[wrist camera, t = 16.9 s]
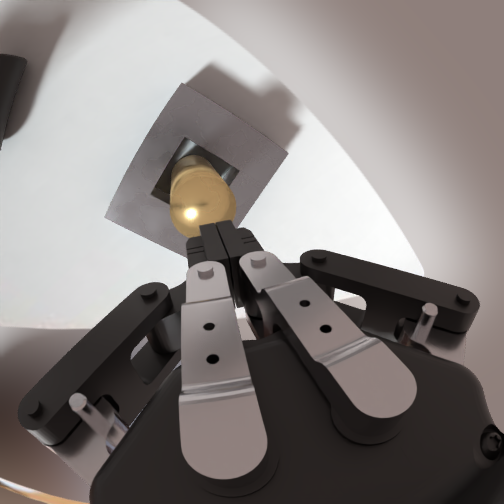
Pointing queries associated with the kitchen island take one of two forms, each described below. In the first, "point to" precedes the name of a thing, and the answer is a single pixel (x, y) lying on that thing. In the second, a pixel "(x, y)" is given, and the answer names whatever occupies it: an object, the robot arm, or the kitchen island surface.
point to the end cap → (8, 86)
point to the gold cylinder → (198, 196)
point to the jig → (208, 137)
